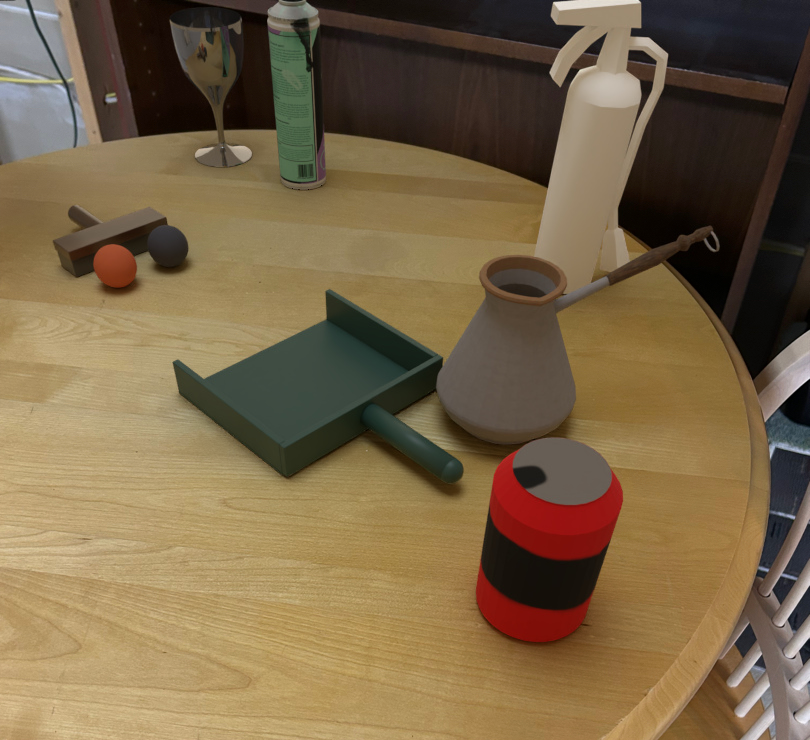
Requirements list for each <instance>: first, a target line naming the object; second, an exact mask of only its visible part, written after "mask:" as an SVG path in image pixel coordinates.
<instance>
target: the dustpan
mask: <svg viewBox="0 0 810 740" xmlns="http://www.w3.org/2000/svg"><path fill="white" fill-rule="evenodd" d="M324 294H325V295H324V296H325V310H326V311H325V312H326V313H325V316H326V317H325V318H326V319H324V320H322V321H320V322H318V323H315V324H314V325H311V326H310V327H308V328H305V329H303V330H302V331H299V332H297V333H295V334H292V335H290V336H289V337H287V338H285V339H283V340H281V341H279V342H277V343H274V344H272V345H270V346H268V347H267V348H264V349H262V350H260V351H258V352H256V353H253V354H252V355H250V356H248V357H246V358H244V359H241V360H240V361H237V362H235V363H233V364H231V365H229V366H227V367H225V368H223V369H221V370H219V371H216V372H215V373H212V374H211V375H209V376H206V377H204V378H203V376H201V375H199V374H198V372H195V370H193V369H192V368H191V367H189V366H188V365H186V364H185V363H184V362H183V361H181V360H180V359H176V360H173V361H172V367H173V372H174V375H175V376H174V377H175V381H176V385H177V390H178V394H180V395H181V397H183V398H184V399H186V400H187V401H188V402H189V403H191V404H192V405H193V406H194V407H196V408H197V409H198V410H200V411H201V412H202V413H203V414H204V415H205V416H207V417H208V418H209V419H211V420H212V421H213V422H215V424H217V425H218V426H219V427H221V428H222V429H223V430H224V431H226V432H227V433H228V434H230V435H231V436H232V437H233V438H234V439H236V440H237V441H238V442H240V443H241V444H242V445H243V446H244V447H246V448H247V449H248V450H250V452H252V453H253V454H255V455H256V456H257V457H258V458H259V459H261V460H262V461H264V463H266V464H267V465H268V466H269V467H271V468H272V469H273V470H275V472H278V474H279V475H281V476H284V477H286V478H289V477H290V476H292V475H294V474H295V473H297V472H299V471H300V470H302V469H303V468H305V467H307V466H309V465H310V464H312V463H314V462H316V461H317V460H319V459H320V458H323V457H324V456H325V455H327V454H329V453H330V452H332V451H334V450H336V449H338V448H339V447H341V446H342V445H344V444H345V443H347V442H349V441H351V440H352V439H354V438H356V437H357V436H359V435H360V434H363V433H364V432H366V431H370V432H372V433H373V434H374V435H376V436H377V437H378V438H380V439H382V440H383V441H385V442H386V443H387V444H388V445H390V446H392V447H393V448H395V450H397V451H399V452H400V453H402V454H403V455H404V456H406V457H407V458H409V459H410V460H412V461H413V462H414V463H415V464H417V465H419V466H420V467H421V468H423V469H425V470H426V471H428V472H429V473H430V474H431V475H433V476H434V477H436V478H437V479H439V480H440V481H442V482H443V483H445V484H450V485H452V484H456V483H458V482H459V481H460V480H461V479H462V478H463V476H464V473H465V470H464V469H465V468H464V465H463V462H461V460H460V459H458V458H457V457H455V456H454V455H452V454H451V453H449V452H447V451H446V450H445V449H444V448H442V447H440V446H439V445H437V444H436V443H434V442H433V441H432V440H430V439H429V438H427V437H426V436H424V435H422V434H421V433H419V432H418V431H417V430H416V429H414V428H413V427H411V426H409V425H408V424H406V423H405V422H404V421H401V420H400V419H399V418H397V417H396V416H394V415H395V414H396V413H398V412H399V411H401V410H403V409H404V408H406V407H408V406H409V405H411V404H413V403H414V402H416V401H418V400H420V399H422V398H423V397H425V396H427V395H429V393H432V392H434V391H435V390H437V389H436V384H437V377H438V373H439V372H440V370H441V368H442V367H443V365H444V357H443V356H442V355H441V354H438V353H437V352H435V351H434V350H432V349H430V348H428V347H427V346H426V345H424V344H422V343H421V342H419V341H417V340H415V339H414V338H412V337H411V336H409V335H407V334H406V333H404V332H402V331H400V330H399V329H397V328H396V327H394V326H393V325H391V324H389V323H388V322H385V321H384V320H382V319H381V318H379V317H377V316H375V315H374V314H372V313H371V312H369V311H367V310H366V309H364V308H363V307H361V306H359V305H357V304H356V303H354V302H353V301H351V300H349V299H348V298H345V297H344V296H342V294H340V293H337V292H336V291H334V290H333V289H331V288H328V289H327V290H325V292H324Z"/></svg>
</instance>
